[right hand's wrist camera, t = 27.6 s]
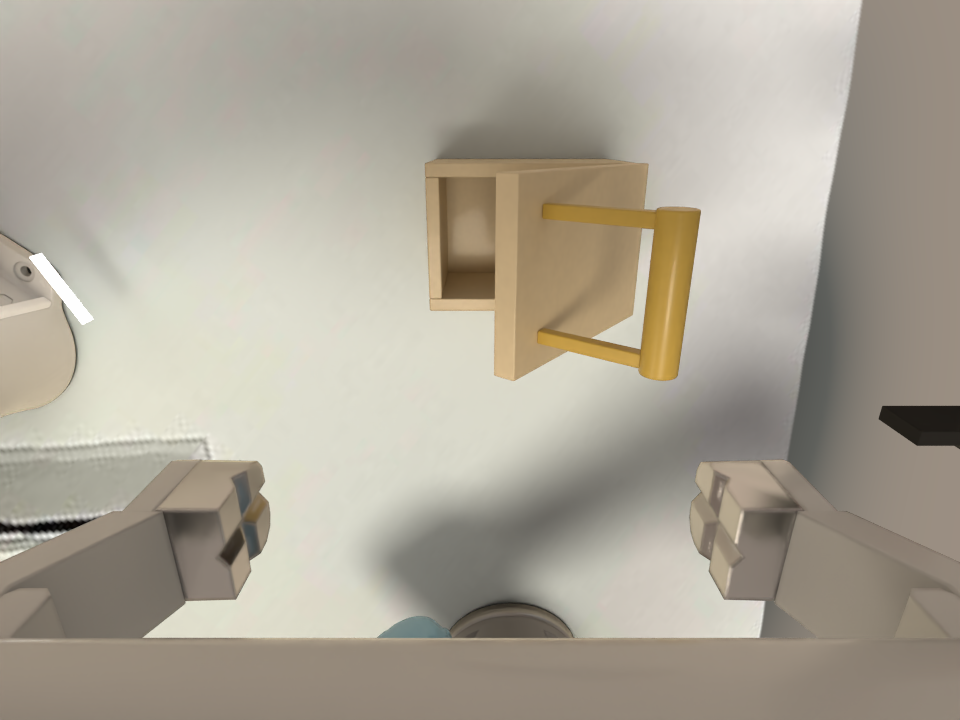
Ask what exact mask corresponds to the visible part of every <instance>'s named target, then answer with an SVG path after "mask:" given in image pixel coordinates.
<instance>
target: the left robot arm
mask: <svg viewBox="0 0 960 720" xmlns="http://www.w3.org/2000/svg"><path fill="white" fill-rule="evenodd" d="M879 420H881V421H882V422H884V423H885V424H887V425H888V426H889V427H891V428H892V429H894V430H895V431H897V432H898V433H900V434H901V435H903V436H904V437H905V438H907V439H908V440H910V441H911V442H912V443H914V444H915V445H917V446H956V447H957V448H959V449H960V406H882V409H881V413H880V416H879ZM377 638H573V636H572V634H571V632H570V630H569V629H568V628H567V626H566V625H565V624H564V623H563V622H562V621H561V620H560V619H558V618H557V617H556V616H554V615H552V614H551V613H549V612H547V611H545V610H543V609H540V608H537V607H534V606H530V605H524V604H513V603H507V604H496V605H491V606H487V607H484V608H481V609H478V610H476V611H473V612H471V613H470V614H468V615H466V616H465V617H463V618H462V619H460V620H459V621H458V622H457V623H456V624H455V625H454V626H453V627H452V628H451V630H450V631H449V630H448V629H446V628H442V627H441V626H440V625H439V624H438V623H437V622H435V621H434V620H433V619H431V618H428V617H424V616H416V617H411V618H408V619H405V620H402V621H400V622H398V623H396V624H395V625H393V626H392V627H391V628H390V629H388V630H387V631H385V632H383V633H382V634H381V635H379V636H378V637H377Z"/></svg>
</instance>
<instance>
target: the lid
mask: <svg viewBox="0 0 960 720" xmlns="http://www.w3.org/2000/svg"><path fill="white" fill-rule="evenodd" d="M647 174H648V164H647V163H625V164H610V165H596V166H581V167H566V168H552V169H537V170H522V171H507V172H497V173H496V235H495V342H494V375H495V376H498V377H501V378H505V379H508V380H511V381H515V380H517V379H519V378H520V377H522V376H524V375H526V374H528V373H529V372H531V371H533V370H535V369H537V368H538V367H540V366H542V365H544V364H546V363H547V362H549V361H551V360H553V359H554V358H556V357H558V356H560V355H562V354H563V353H565V352H567V351H570V352H574V353H578V354H583V355H587V356H591V357H595V358H599V359H603V360H607V361H611V362H615V363H619V364H623V365H627V366H632V367H636V368H639V369H638V371H639V373H640V374H641V375H642V376H644V377H646V378H649V379H653V380H660V381H666V380H672V379H675V378H676V377H677V376H678V370H679V363H680V356H681V349H682V342H683V335H684V327H685V320H686V313H687V306H688V299H689V292H690V285H691V278H692V271H693V264H694V257H695V250H696V243H697V236H698V229H699V221H700V214H701V210H700V209H697V208H690V207H660V208H657V210H645V209H644V203H645V193H646V184H647ZM642 228H646V229H654V236H653V244H652V253H651V262H650V271H649V280H648V289H647V298H646V307H645V315H644V324H643V333H642V342H641V350H640V349H636V348H631V347H627V346H622V345H618V344H613V343H609V342H604V341H600V340H596V339H591V338H592V337H594V336H596V335H598V334H599V333H601V332H603V331H605V330H607V329H608V328H610V327H612V326H614V325H616V324H617V323H619V322H621V321H623V320H625V319H626V318H628V317H630V316H632V315H633V308H634V299H635V289H636V280H637V270H638V260H639V251H640V241H641V232H642Z"/></svg>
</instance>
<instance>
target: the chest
mask: <svg viewBox="0 0 960 720" xmlns="http://www.w3.org/2000/svg"><path fill="white" fill-rule="evenodd" d="M625 163H632V162H625V161H617V160H610V159H435V160H433V161H430V162H428V163H425V176H426V178H425V182H426V210H427V239H428V267H429V296H430V310H431V311H495V235H496V173H497V172H507V171H522V170H537V169H552V168H566V167H581V166H596V165H610V164H625Z"/></svg>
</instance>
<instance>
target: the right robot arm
mask: <svg viewBox="0 0 960 720" xmlns="http://www.w3.org/2000/svg"><path fill="white" fill-rule="evenodd" d="M27 267H28V268H29V269H30V270H31V273H29V272H28V270H27ZM62 299H63V300H64V302H65V303H66V304H67V306H68V307H69V308H70V309H71V311H72V312H73V313H74V314H75V316H76V317H77V318H78V319H79V321H80V322H81V323H82V324H84V323H86V322H89V321H91V320H93V318H92V317H91V316H90V314H89V313H88V312H87V310H86V309H85V308H84V307H83V305H82V304H81V303H80V302H79V300H78V299H77V298H76V296H75V295H74V294H73V293H72V291H71V290H70V289H69V288H68V286H67V285H66V284H65V282H64V281H63V280H62V279H61V277H60V275H59V274H58V272H57V271H56V270H55V269H54V268H53V267H52V266H51V265H50V263H49V262H48V261H47V260H46V258H45V257H44V256H43V254H42V253H41V254H37V255H33V254H32V253H30V252H29V251H27V250H26V249H24V248H22V247H21V246H19V245H18V244H16V243H15V242H13V241H11V240H10V239H8V238H7V237H5V236H4V235H2V234H1V233H0V417H3V416H6V415H10V414H13V413H17V412H21V411H25V410H31V409H35V408H38V407H41V406H44V405H46V404H48V403H50V402H52V401H53V400H55V399H56V398H57V397H58V396H60V395H61V394H62V393H63V391H64V390H65V389H66V387H67V386H68V384H69V383H70V381H71V378H72V376H73V373H74V369H75V361H76V352H75V344H74V339H73V336H72V332H71V329H70V327H69V325H68V322H67V320H66V317H65V315H64V312H63V308H62ZM264 483H265V478H264V473H263V468H262V466H261V464H260V463H259V462H258V461H234V460H176V461H171V462H170V463H169V464H168V465H167V466H166V467H165V468H164V469H163V470H162V471H161V472H160V473H159V474H158V475H157V476H156V477H155V478H154V479H153V480H152V481H151V482H150V483H149V485H148V486H147V487H146V488H145V489H144V490H143V491H142V492H141V493H140V494H139V495H138V496H137V497H136V498H135V499H134V500H133V501H132V502H131V503H130V504H129V505H128V506H127V507H126V508H125V509H124V510H123V511H113V512H110V513H108V514H106V515H104V516H102V517H99V518H97V519H95V520H93V521H90V522H88V523H86V524H84V525H82V526H79V527H77V528H75V529H73V530H70V531H68V532H66V533H64V534H62V535H59V536H57V537H55V538H53V539H50V540H48V541H46V542H44V543H42V544H39V545H37V546H35V547H33V548H30V549H28V550H26V551H24V552H22V553H19V554H17V555H15V556H13V557H11V558H8V559H6V560H4V561H2V562H0V720H960V562H958V561H956V560H954V559H951V558H949V557H947V556H945V555H943V554H940V553H938V552H936V551H934V550H931V549H929V548H927V547H925V546H923V545H920V544H918V543H916V542H914V541H912V540H909V539H907V538H905V537H903V536H900V535H898V534H896V533H894V532H892V531H889V530H887V529H885V528H883V527H881V526H878V525H876V524H874V523H872V522H870V521H867V520H865V519H863V518H861V517H858V516H856V515H854V514H852V513H850V512H847V511H837V510H836V509H835V508H834V507H833V506H832V505H831V504H830V503H829V502H828V501H827V500H826V499H825V498H824V497H823V496H822V495H821V494H820V493H819V492H818V491H817V490H816V488H814V486H813V485H812V484H811V483H810V482H809V481H808V480H807V479H806V478H805V477H804V476H803V475H802V474H801V473H800V472H799V471H798V470H797V469H796V468H795V467H794V466H793V465H792V464H791V463H790V462H788V461H785V460H783V459H778V460H752V461H712V462H700V464H699V466H698V469H697V472H696V478H695V483H696V484H697V486H698V487H699V489H700V491H701V493H700V494H699V495H698V496H697V497H696V498H695V499H694V500H693V501H692V502H691V509H690V517H689V518H690V530H691V535H692V538H693V541H694V544H695V546H696V548H697V550H698V552H699V553H700V554H701V555H703V556H704V557H706V558H707V559H709V560H710V567H709V573H710V574H711V576H712V578H713V580H714V582H715V584H716V585H717V587H718V589H719V591H720V593H721V595H722V596H723V598H724V600H759V601H775V604H776V605H777V606H779V607H780V608H781V609H782V610H784V611H785V612H786V613H788V614H789V615H790V616H791V617H793V618H794V619H795V620H796V621H798V622H799V623H800V624H801V625H803V626H804V627H805V628H806V629H808V630H809V631H810V632H811V633H813V634H814V635H815V636H817V637H818V638H142V637H144V636H145V635H146V634H147V633H149V632H150V631H151V630H153V629H154V628H155V627H156V626H158V625H159V624H160V623H161V622H163V621H164V620H165V619H166V618H168V617H169V616H170V615H171V614H173V613H174V612H175V611H177V610H178V609H179V608H180V607H182V606H183V605H184V604H185V601H200V600H235V599H236V598H237V597H238V595H239V593H240V591H241V589H242V587H243V585H244V584H245V582H246V580H247V578H248V576H249V574H250V573H251V567H250V560H251V559H253V558H254V557H256V556H257V555H259V554H260V553H261V552H262V550H263V548H264V546H265V544H266V542H267V538H268V534H269V529H270V508H269V502H268V501H267V500H266V499H265V498H264V497H263V496H262V495H261V494H260V493H259V491H260V489H261V487H262V486H263V484H264Z"/></svg>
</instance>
